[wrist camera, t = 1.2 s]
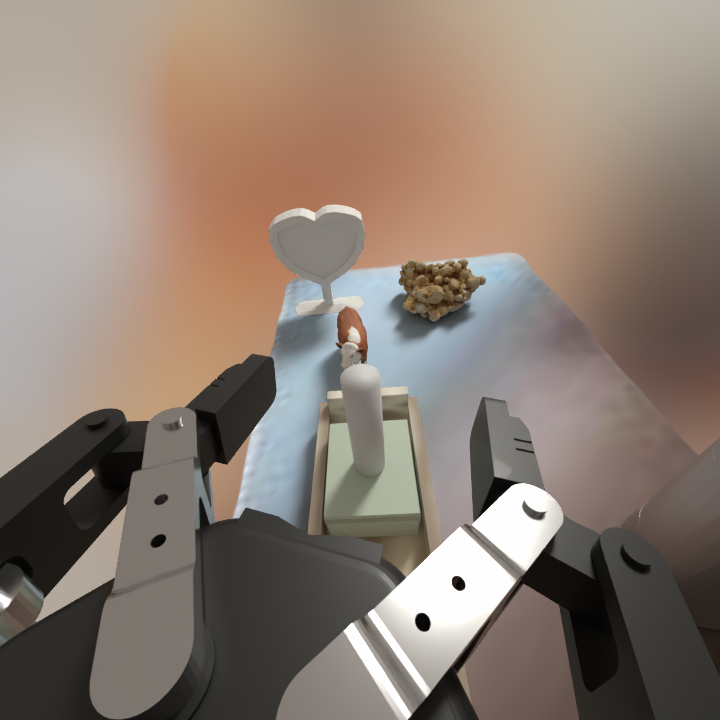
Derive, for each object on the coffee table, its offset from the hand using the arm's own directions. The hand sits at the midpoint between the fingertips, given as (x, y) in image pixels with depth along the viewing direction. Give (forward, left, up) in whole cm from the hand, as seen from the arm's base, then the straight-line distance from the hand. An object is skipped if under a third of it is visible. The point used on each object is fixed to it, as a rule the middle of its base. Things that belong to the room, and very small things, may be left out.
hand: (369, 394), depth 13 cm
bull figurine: (+3, -30, -26) cm, 40 cm away
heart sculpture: (+8, -47, -26) cm, 54 cm away
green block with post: (+1, -9, -25) cm, 26 cm away
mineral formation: (-13, -44, -26) cm, 53 cm away
